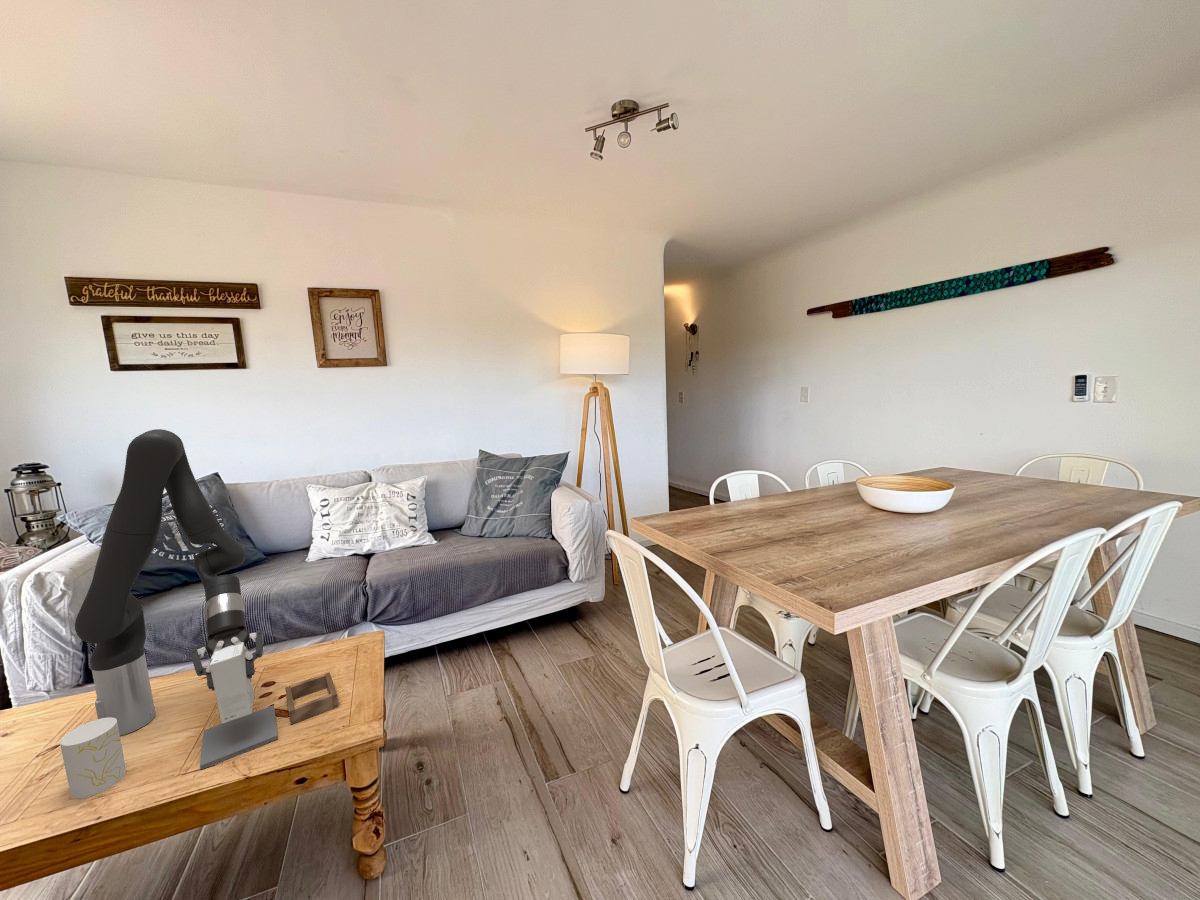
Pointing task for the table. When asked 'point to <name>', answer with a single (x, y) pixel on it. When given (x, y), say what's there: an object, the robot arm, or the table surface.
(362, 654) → the table surface
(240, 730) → the charcoal mat
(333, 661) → the table surface
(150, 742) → the table surface
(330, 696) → the walnut collar
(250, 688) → the skincare box
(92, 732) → the grey patterned cylinder
